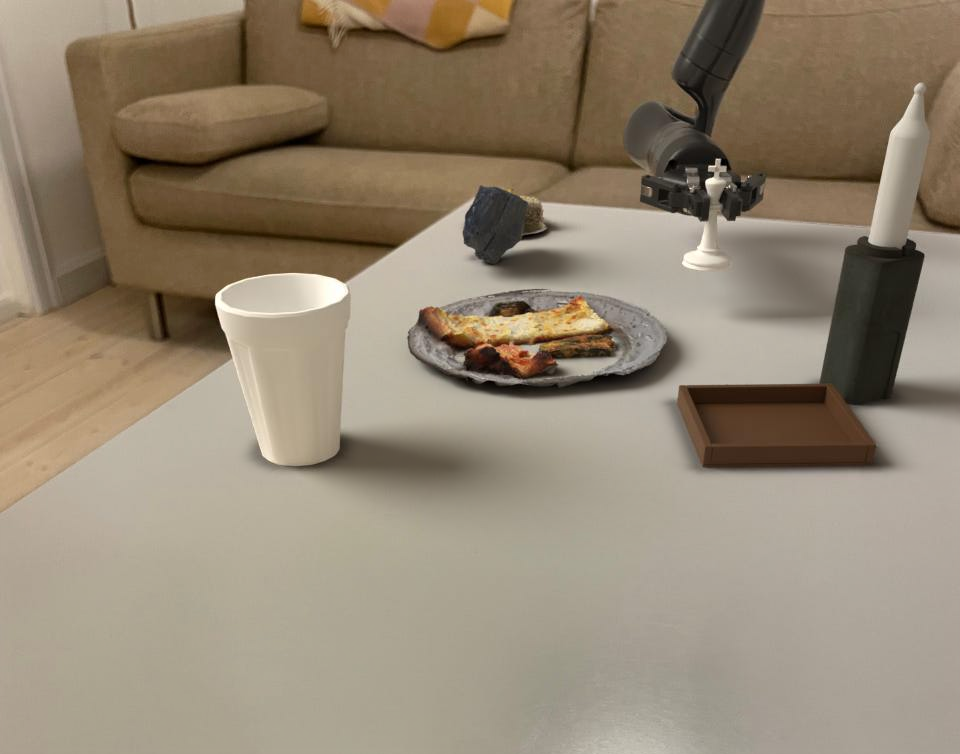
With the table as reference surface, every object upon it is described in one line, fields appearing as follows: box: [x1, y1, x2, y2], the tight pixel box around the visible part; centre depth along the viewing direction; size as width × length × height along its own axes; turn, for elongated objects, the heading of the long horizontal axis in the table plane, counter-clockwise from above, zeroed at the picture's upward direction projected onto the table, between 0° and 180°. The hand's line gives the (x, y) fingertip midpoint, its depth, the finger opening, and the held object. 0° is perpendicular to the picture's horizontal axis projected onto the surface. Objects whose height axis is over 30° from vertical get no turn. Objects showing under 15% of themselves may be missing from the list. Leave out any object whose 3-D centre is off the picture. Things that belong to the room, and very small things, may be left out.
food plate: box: [406, 288, 668, 388], centre depth 101 cm, size 25×23×4 cm
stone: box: [461, 184, 528, 265], centre depth 124 cm, size 14×6×10 cm, turn 170°
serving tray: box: [676, 383, 877, 468], centre depth 85 cm, size 13×12×2 cm
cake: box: [507, 187, 548, 236], centre depth 137 cm, size 10×10×5 cm
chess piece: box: [681, 159, 732, 272], centre depth 104 cm, size 5×5×10 cm
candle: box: [818, 82, 931, 406], centre depth 86 cm, size 5×5×25 cm
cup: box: [214, 272, 352, 467], centre depth 81 cm, size 10×10×13 cm
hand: (719, 210), depth 101 cm, fingers closed on chess piece
